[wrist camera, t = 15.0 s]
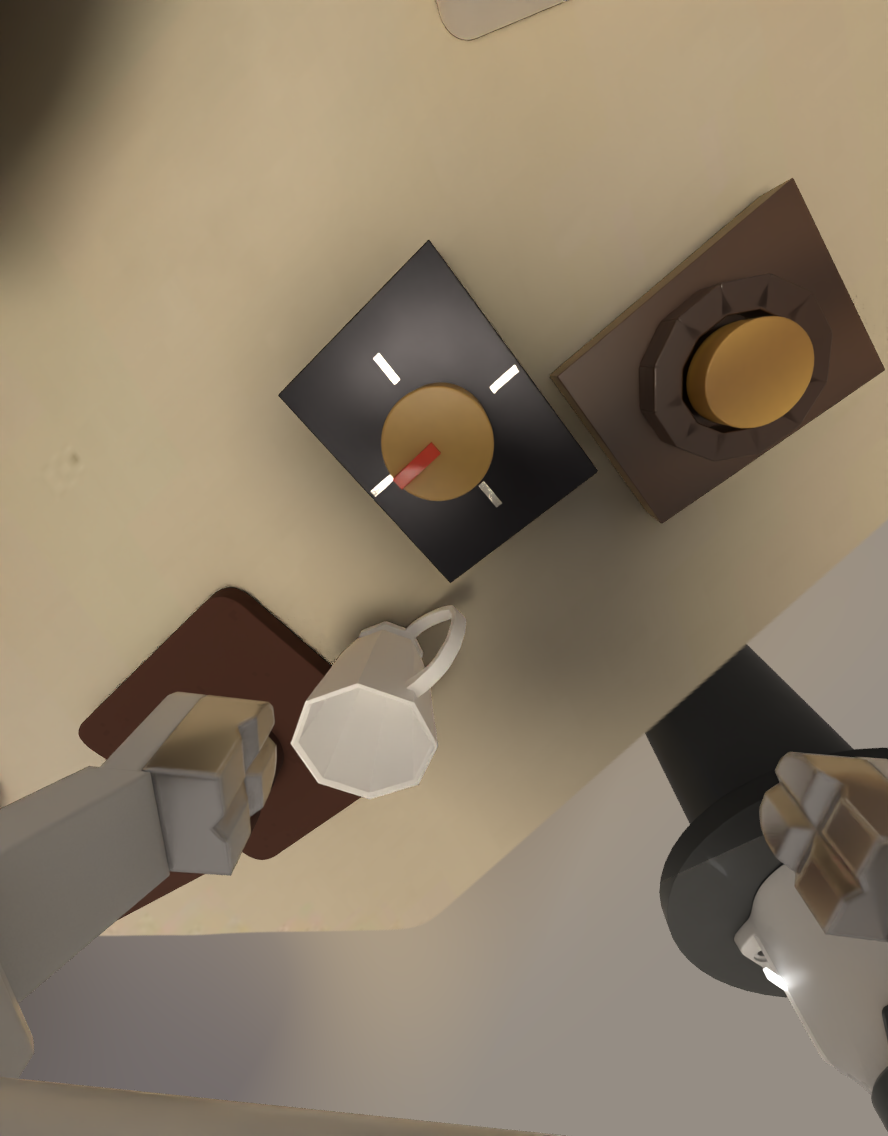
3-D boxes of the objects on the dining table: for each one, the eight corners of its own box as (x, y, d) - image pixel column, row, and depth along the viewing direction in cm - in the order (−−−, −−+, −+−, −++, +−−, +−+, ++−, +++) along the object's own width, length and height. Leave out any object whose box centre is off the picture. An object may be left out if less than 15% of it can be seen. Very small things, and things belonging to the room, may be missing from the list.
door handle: (-41, 840, 27) (158, 644, 22) (58, 747, 34) (230, 578, 28) (193, 975, 32) (410, 841, 26) (240, 868, 39) (421, 743, 33)
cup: (309, 651, 30) (259, 744, 23) (417, 545, 27) (400, 613, 20) (392, 715, 32) (371, 821, 25) (502, 622, 29) (516, 711, 21)
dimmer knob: (443, 359, 21) (440, 358, 17) (509, 437, 22) (518, 451, 18) (372, 431, 22) (355, 443, 18) (438, 500, 23) (433, 525, 20)
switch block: (848, 369, 23) (922, 370, 19) (646, 512, 26) (676, 536, 22) (760, 195, 20) (826, 158, 17) (548, 375, 23) (564, 377, 20)
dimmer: (583, 459, 25) (599, 472, 22) (451, 561, 28) (450, 584, 25) (433, 255, 22) (428, 237, 19) (298, 391, 24) (276, 395, 21)
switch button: (803, 379, 20) (833, 381, 18) (715, 443, 21) (735, 449, 19) (758, 296, 19) (785, 289, 17) (667, 367, 20) (685, 368, 18)
